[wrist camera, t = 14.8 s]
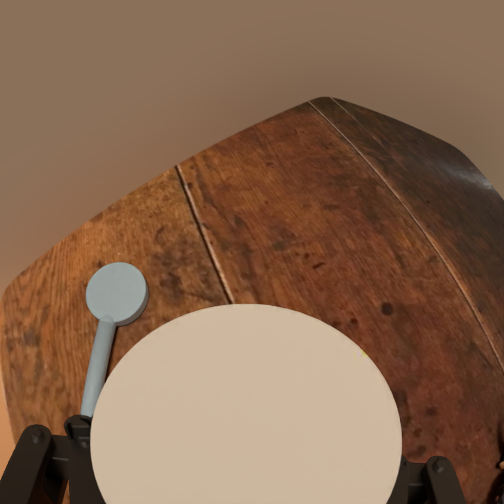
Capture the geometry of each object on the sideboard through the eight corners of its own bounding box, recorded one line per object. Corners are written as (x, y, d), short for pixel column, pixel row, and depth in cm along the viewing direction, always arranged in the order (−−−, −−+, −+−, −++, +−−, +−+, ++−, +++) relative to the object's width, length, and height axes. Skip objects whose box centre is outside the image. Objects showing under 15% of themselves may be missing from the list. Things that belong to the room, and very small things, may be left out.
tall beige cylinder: (300, 492, 14) (394, 557, 4) (168, 488, 14) (92, 556, 4) (300, 377, 18) (388, 307, 8) (175, 370, 18) (112, 292, 8)
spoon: (120, 480, 15) (113, 483, 13) (58, 458, 14) (49, 459, 13) (155, 271, 24) (151, 263, 23) (100, 264, 24) (94, 256, 23)
